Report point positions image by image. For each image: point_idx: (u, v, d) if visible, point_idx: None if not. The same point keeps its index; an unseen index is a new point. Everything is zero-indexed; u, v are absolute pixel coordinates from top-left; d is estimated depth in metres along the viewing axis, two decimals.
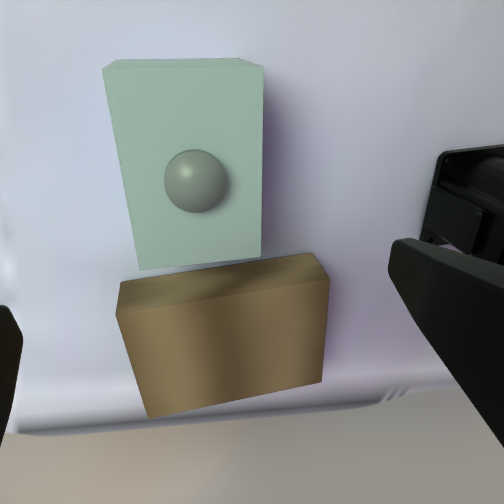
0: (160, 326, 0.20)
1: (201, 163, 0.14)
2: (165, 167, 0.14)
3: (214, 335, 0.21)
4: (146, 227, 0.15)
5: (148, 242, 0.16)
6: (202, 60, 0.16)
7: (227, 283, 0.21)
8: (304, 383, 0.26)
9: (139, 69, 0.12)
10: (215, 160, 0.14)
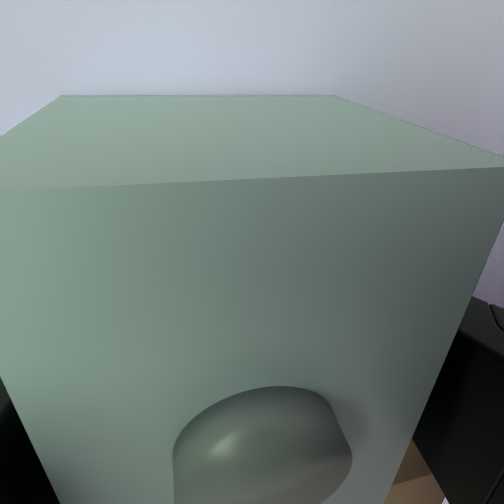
0: None
1: (289, 444, 0.04)
2: (177, 435, 0.05)
3: None
4: None
5: None
6: (268, 106, 0.07)
7: None
8: None
9: (89, 190, 0.03)
10: (331, 430, 0.05)
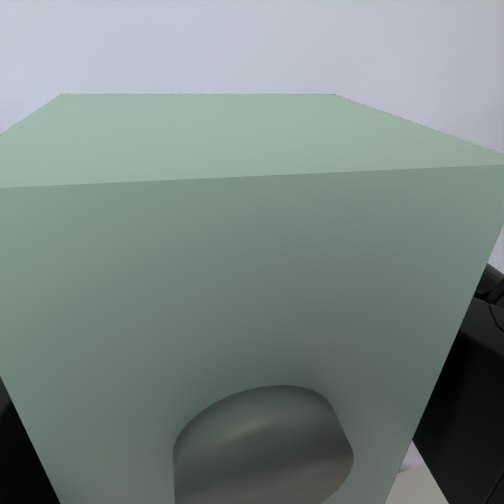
0: None
1: (290, 444, 0.04)
2: (177, 434, 0.05)
3: None
4: None
5: None
6: (269, 104, 0.06)
7: None
8: None
9: (89, 187, 0.03)
10: (332, 429, 0.05)
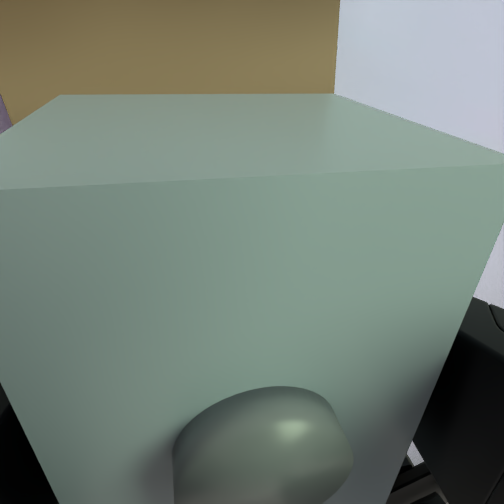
0: (291, 69, 0.10)
1: (291, 445, 0.04)
2: (177, 436, 0.05)
3: None
4: None
5: None
6: (267, 104, 0.06)
7: None
8: None
9: (85, 189, 0.03)
10: (331, 430, 0.05)
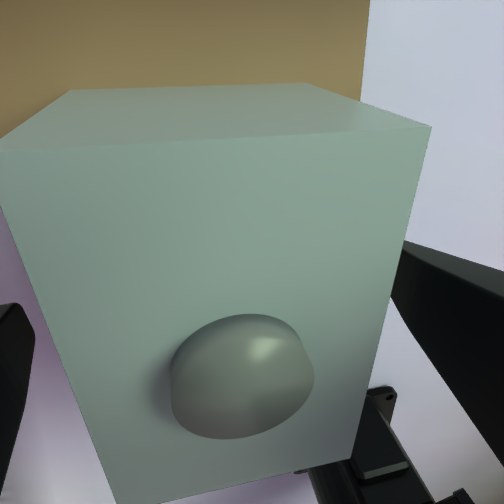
0: (312, 78, 0.09)
1: (260, 355, 0.06)
2: (172, 355, 0.06)
3: None
4: (131, 454, 0.07)
5: (135, 474, 0.07)
6: (245, 92, 0.08)
7: None
8: None
9: (98, 148, 0.04)
10: (293, 345, 0.06)
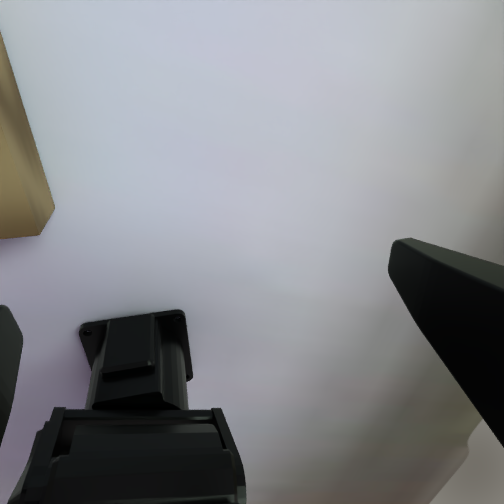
0: None
1: None
2: None
3: None
4: None
5: None
6: None
7: (1, 89, 0.14)
8: None
9: None
10: None
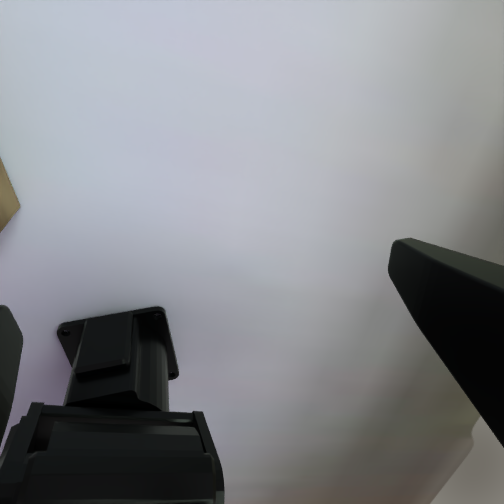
0: None
1: None
2: None
3: None
4: None
5: None
6: None
7: None
8: None
9: None
10: None
